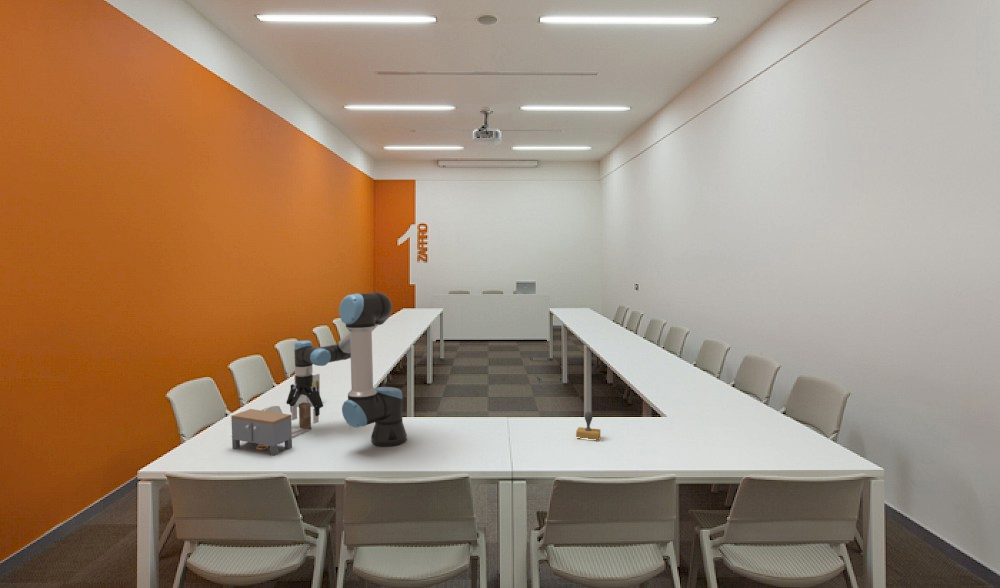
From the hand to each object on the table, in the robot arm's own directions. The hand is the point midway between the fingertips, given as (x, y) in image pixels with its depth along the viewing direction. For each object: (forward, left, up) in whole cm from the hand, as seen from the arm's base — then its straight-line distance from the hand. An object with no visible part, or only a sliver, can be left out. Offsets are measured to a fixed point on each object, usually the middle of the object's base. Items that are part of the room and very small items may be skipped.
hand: (305, 421), depth 242 cm
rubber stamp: (-124, -36, -4) cm, 129 cm away
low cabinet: (0, +26, -4) cm, 26 cm away
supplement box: (+26, -31, -4) cm, 41 cm away
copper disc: (0, +26, -4) cm, 26 cm away
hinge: (+18, +2, -4) cm, 19 cm away
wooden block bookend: (0, +9, -4) cm, 10 cm away
